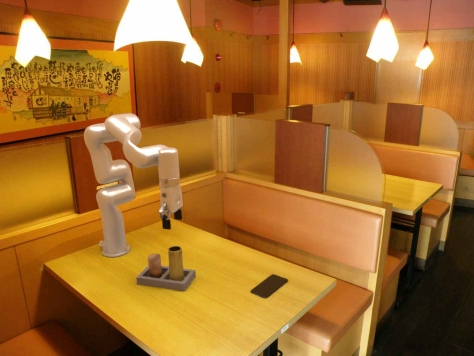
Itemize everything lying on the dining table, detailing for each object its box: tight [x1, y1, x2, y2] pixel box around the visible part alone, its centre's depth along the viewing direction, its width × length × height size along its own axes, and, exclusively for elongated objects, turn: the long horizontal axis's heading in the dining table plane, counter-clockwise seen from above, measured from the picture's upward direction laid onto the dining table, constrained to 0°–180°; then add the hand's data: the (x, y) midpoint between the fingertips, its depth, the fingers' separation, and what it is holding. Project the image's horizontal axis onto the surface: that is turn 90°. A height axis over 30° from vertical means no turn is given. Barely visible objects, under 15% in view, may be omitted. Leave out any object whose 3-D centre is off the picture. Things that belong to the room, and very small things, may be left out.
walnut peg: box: [147, 253, 163, 278], centre depth 154 cm, size 5×5×10 cm
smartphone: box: [249, 273, 289, 300], centre depth 148 cm, size 8×1×16 cm
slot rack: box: [135, 265, 197, 292], centre depth 153 cm, size 20×11×3 cm, turn 74°
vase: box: [167, 245, 185, 282], centre depth 150 cm, size 6×6×14 cm
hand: (172, 224), depth 147 cm, fingers open, 9 cm apart
